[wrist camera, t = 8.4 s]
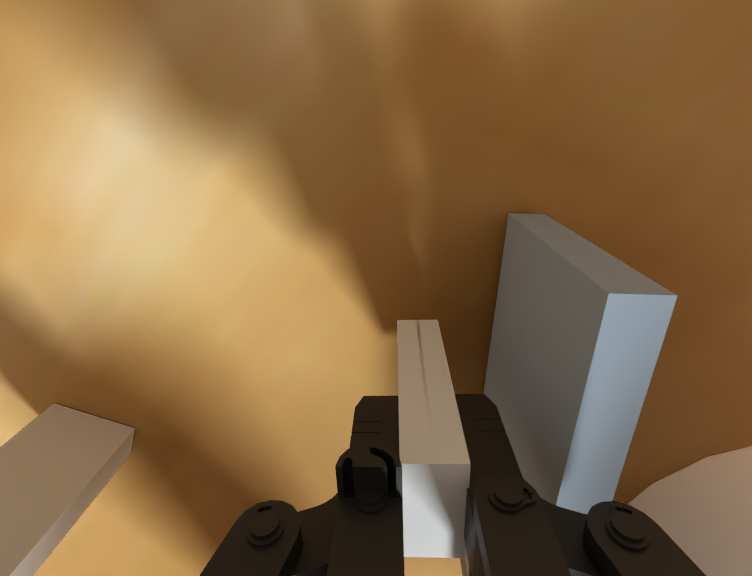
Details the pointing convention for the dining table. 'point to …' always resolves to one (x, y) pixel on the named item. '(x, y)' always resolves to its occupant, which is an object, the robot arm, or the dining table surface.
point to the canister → (707, 511)
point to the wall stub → (53, 481)
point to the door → (571, 359)
